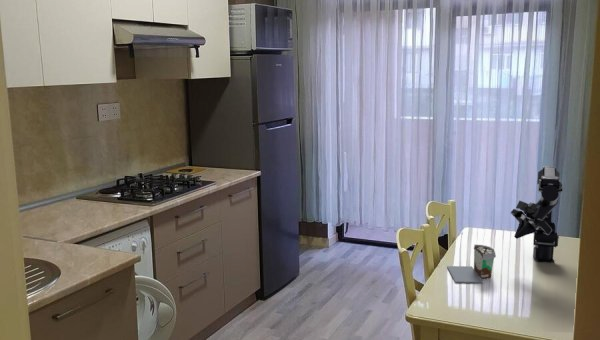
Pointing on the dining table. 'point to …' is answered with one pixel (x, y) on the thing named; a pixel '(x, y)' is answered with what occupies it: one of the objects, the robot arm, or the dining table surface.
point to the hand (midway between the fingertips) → (515, 237)
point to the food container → (483, 260)
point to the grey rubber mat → (464, 274)
